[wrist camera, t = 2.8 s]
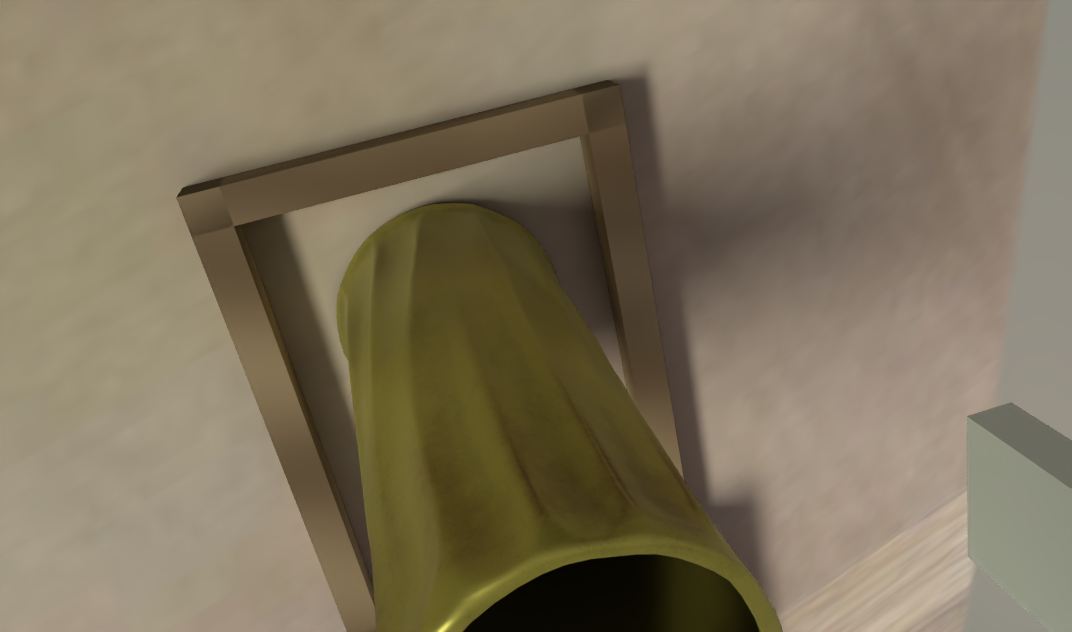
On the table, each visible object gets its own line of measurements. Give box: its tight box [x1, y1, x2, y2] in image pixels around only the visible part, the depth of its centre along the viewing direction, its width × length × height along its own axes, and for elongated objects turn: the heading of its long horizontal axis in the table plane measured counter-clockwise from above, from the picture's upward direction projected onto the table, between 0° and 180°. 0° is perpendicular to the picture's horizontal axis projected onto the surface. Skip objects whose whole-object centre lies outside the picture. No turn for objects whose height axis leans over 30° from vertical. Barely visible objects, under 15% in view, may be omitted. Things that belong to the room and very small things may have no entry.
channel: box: [176, 80, 684, 632], centre depth 24 cm, size 15×11×1 cm
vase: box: [337, 203, 783, 632], centre depth 17 cm, size 6×6×14 cm
